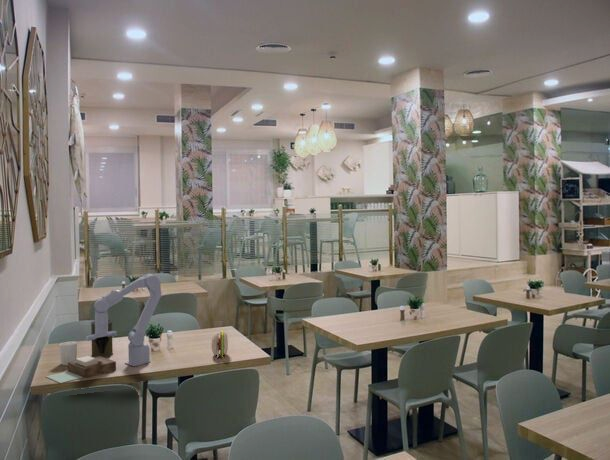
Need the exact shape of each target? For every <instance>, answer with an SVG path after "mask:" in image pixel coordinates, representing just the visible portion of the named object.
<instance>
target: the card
mask: <svg viewBox="0 0 610 460" xmlns="http://www.w3.org/2000/svg"><path fill="white" fill-rule="evenodd" d="M76 363H77V364H80V365H83V366H85V367H86V366H90V365H94V364H98V359H96V358H93V357H92V356H90V355H86V356H81V357H76Z"/></svg>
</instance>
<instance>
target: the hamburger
mask: <svg viewBox="0 0 610 460" xmlns="http://www.w3.org/2000/svg"><path fill="white" fill-rule="evenodd" d="M228 340H229V339H228V334H227V332H226V331H224V329H222V330H221V332H220V334H219V332H217V331H216V332H214V334H213V336H212V338H211V351H212V354H213V355H214V356H215V357H216V359H217V358H218V357H219V355H222V356H221V358H222V357H223V358H224V357H226V356H227V355H228V350H229V341H228ZM216 355H217V356H216ZM223 355H224V356H223ZM219 358H220V357H219Z"/></svg>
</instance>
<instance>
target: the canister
mask: <svg viewBox="0 0 610 460" xmlns="http://www.w3.org/2000/svg"><path fill="white" fill-rule="evenodd" d="M90 327H91V331H90V332H91V335H93V334H95V320H94V321H91V322H90ZM111 331H113V320H111V319H110V320H109V319H108V332H111ZM108 338H109V341H108V343H107V345H106V348H105V351H104V353H103V354H101V353H99V349H98V346H97V344H96V342H95V341H94V340H91V356H90V357H95V356H101V357H104V358H110V357H113V355H114V353H113V351H114V350H113V336H109V337H108Z"/></svg>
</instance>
